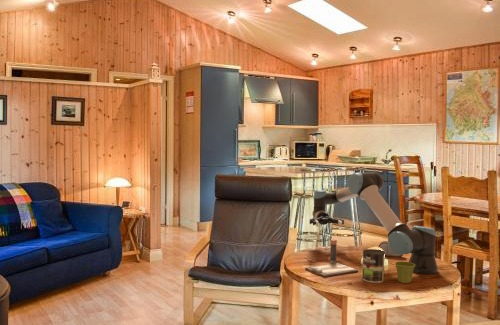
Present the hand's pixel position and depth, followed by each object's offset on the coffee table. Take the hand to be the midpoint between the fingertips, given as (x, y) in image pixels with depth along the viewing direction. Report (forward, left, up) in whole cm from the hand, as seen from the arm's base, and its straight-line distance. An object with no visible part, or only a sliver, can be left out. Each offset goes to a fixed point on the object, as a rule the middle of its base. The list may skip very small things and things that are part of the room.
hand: (329, 224), depth 280 cm
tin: (-11, -38, -20) cm, 44 cm away
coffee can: (-42, +6, -20) cm, 47 cm away
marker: (-9, +4, -20) cm, 22 cm away
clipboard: (-20, +14, -20) cm, 32 cm away
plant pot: (-51, -6, -20) cm, 55 cm away
